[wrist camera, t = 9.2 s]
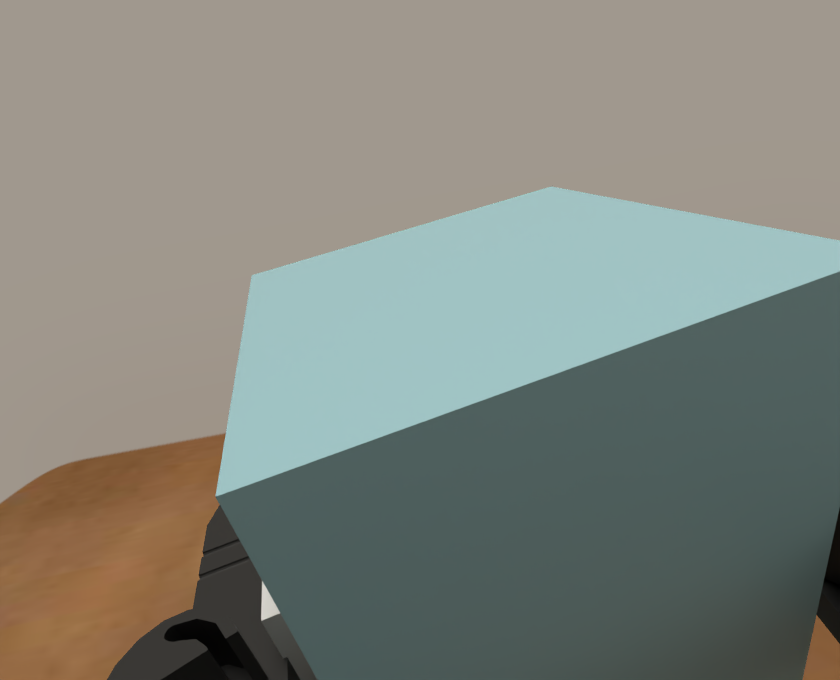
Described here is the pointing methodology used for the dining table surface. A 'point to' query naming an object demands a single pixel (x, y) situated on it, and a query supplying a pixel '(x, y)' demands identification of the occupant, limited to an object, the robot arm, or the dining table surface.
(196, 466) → the dining table surface
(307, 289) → the teal brick
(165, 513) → the dining table surface
